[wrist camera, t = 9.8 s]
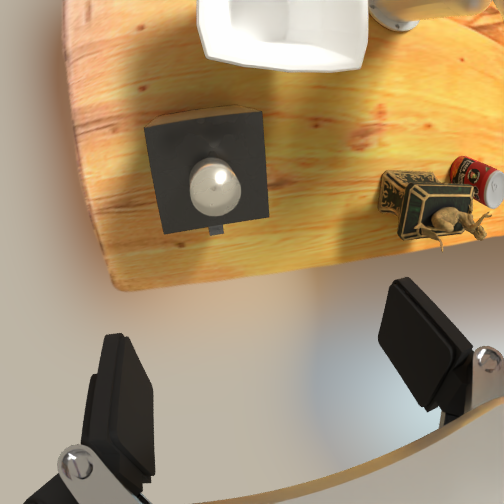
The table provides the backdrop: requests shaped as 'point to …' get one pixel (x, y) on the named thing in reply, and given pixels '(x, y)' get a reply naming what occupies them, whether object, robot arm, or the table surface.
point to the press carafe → (201, 147)
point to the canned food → (479, 180)
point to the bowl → (285, 33)
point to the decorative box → (428, 205)
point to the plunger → (214, 187)
